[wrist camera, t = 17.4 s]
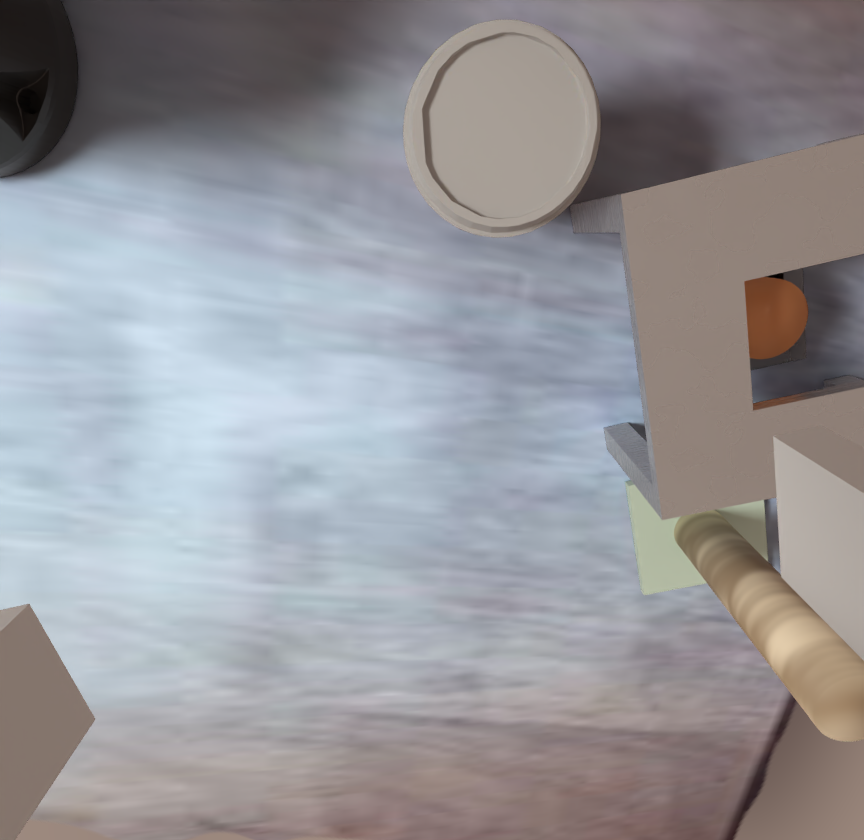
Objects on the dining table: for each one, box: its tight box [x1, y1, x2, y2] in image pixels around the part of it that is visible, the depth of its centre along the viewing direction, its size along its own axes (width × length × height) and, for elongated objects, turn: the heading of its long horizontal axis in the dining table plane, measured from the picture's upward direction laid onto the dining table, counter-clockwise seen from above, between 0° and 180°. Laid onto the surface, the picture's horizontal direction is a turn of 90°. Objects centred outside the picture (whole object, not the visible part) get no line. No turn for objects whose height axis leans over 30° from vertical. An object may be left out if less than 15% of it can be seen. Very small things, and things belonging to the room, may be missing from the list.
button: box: [744, 277, 808, 359], centre depth 37 cm, size 5×5×6 cm
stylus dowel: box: [674, 510, 864, 742], centre depth 37 cm, size 4×4×18 cm
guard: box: [570, 133, 864, 520], centre depth 35 cm, size 18×18×12 cm
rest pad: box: [625, 481, 768, 595], centre depth 46 cm, size 10×10×1 cm
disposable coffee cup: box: [403, 20, 601, 238], centre depth 32 cm, size 10×10×12 cm
